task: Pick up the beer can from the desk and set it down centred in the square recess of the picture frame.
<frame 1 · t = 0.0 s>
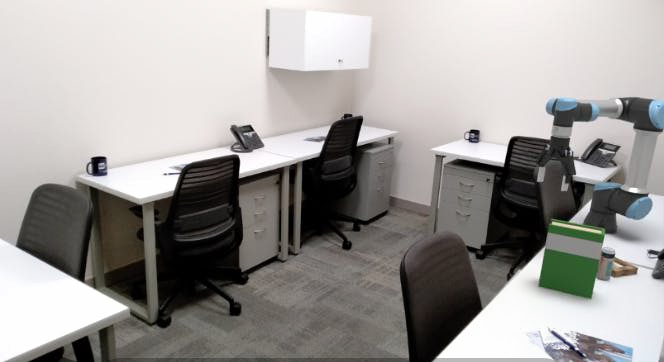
hand: (551, 186, 221), 28 cm above the table, tool pointing down, fingers open, 13 cm apart
hardback book: (564, 289, 192), on the table
beer can: (602, 278, 202), on the table
picture frame: (612, 269, 211), on the table
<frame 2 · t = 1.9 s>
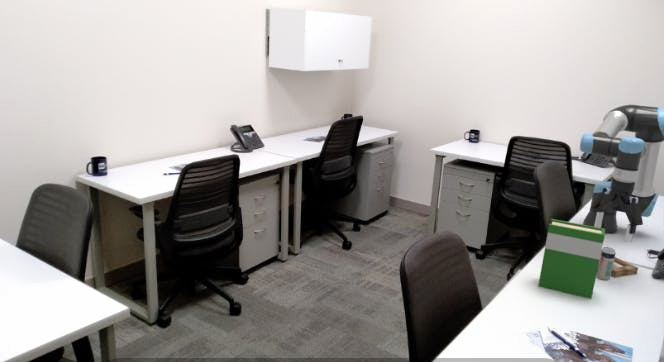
hand: (611, 234, 197), 18 cm above the table, tool pointing down, fingers open, 13 cm apart
nothing on the table moved.
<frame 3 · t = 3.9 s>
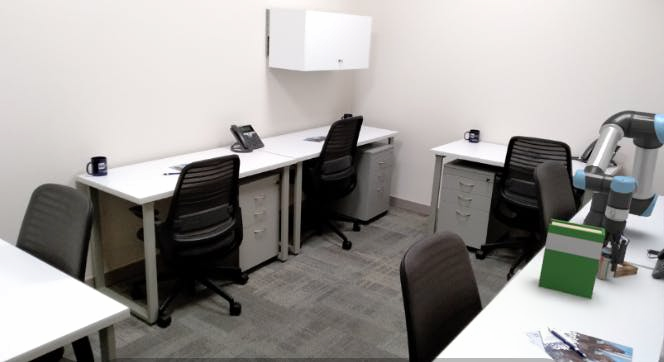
hand: (603, 275, 202), 1 cm above the table, tool pointing down, fingers closed on beer can, 5 cm apart
beer can: (602, 278, 202), on the table, touching gripper
everything else where it was.
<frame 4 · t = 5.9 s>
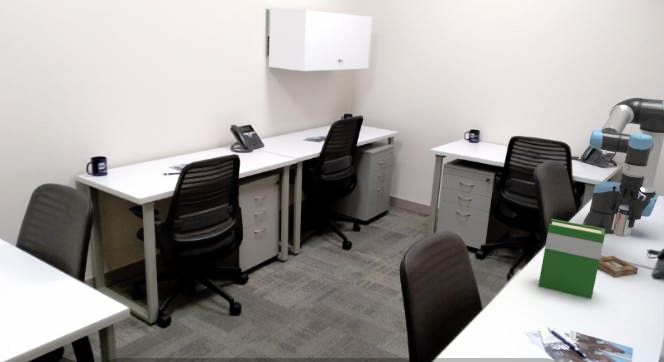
hand: (620, 232, 206), 16 cm above the table, tool pointing down, fingers closed on beer can, 5 cm apart
beer can: (619, 235, 207), point 15 cm above the table, touching gripper
everything else where it was.
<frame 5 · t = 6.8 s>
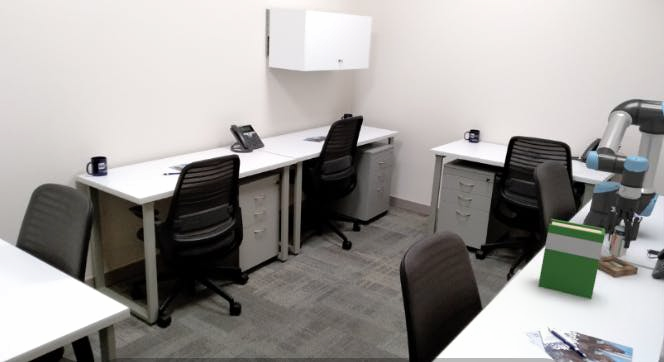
hand: (616, 252, 209), 7 cm above the table, tool pointing down, fingers closed on beer can, 5 cm apart
beer can: (615, 255, 209), point 6 cm above the table, touching gripper
everything else where it was.
when the fingers open (3 cm above the table, at t = 7.7 s): beer can stays where it is, resting on picture frame.
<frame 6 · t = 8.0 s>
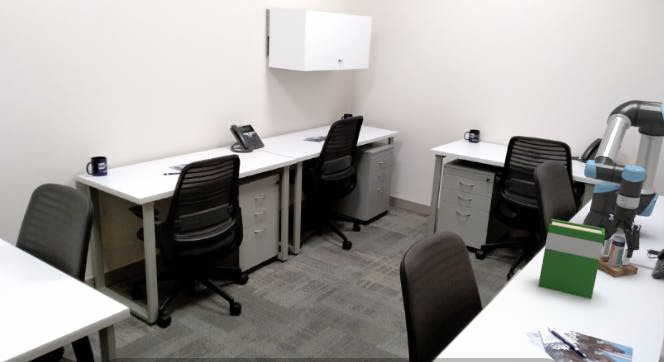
hand: (614, 259, 210), 4 cm above the table, tool pointing down, fingers open, 9 cm apart
beer can: (613, 266, 210), point 1 cm above the table, touching picture frame
everything else where it was.
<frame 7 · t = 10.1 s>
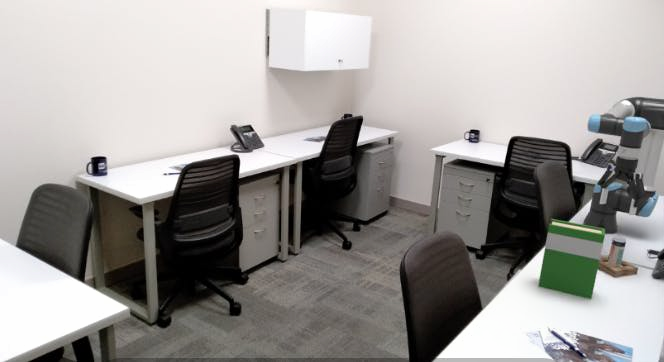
hand: (616, 209, 210), 24 cm above the table, tool pointing down, fingers open, 13 cm apart
nothing on the table moved.
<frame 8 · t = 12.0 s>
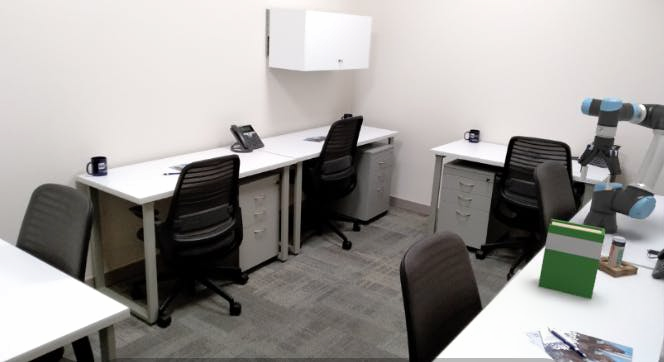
hand: (595, 185, 224), 29 cm above the table, tool pointing down, fingers open, 13 cm apart
nothing on the table moved.
at the end: beer can 0.0 cm off-centre on the picture frame, point 1.4 cm above the picture frame's base; beer can tilted 0°; the gripper is holding nothing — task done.
